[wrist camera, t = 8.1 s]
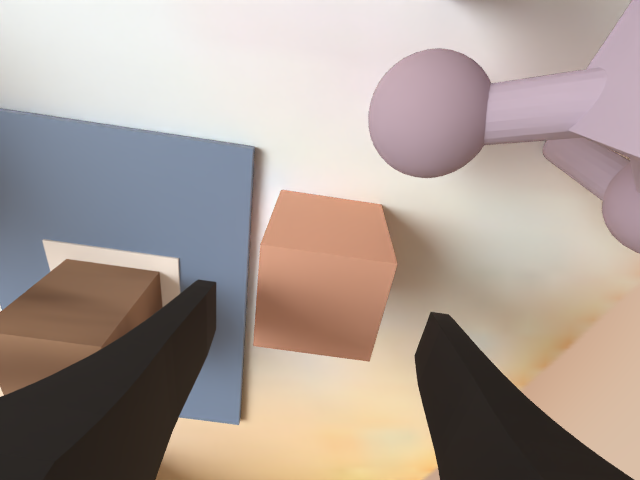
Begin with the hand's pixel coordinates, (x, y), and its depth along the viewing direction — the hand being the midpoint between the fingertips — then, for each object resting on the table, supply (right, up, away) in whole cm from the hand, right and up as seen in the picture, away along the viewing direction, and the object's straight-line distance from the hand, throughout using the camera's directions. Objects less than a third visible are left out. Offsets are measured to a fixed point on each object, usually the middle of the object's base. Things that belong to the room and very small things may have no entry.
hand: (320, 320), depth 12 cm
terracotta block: (0, +3, +5) cm, 6 cm away
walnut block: (-10, 0, +6) cm, 12 cm away
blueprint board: (-10, 0, +7) cm, 13 cm away
